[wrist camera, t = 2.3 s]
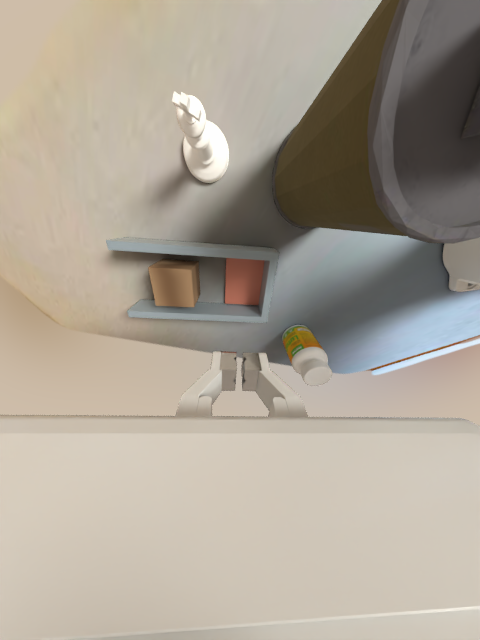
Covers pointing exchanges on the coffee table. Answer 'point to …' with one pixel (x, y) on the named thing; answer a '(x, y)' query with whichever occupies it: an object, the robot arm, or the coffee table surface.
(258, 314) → the channel
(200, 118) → the chess piece
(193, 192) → the coffee table surface
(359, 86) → the canister
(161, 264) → the walnut cube
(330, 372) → the supplement bottle
